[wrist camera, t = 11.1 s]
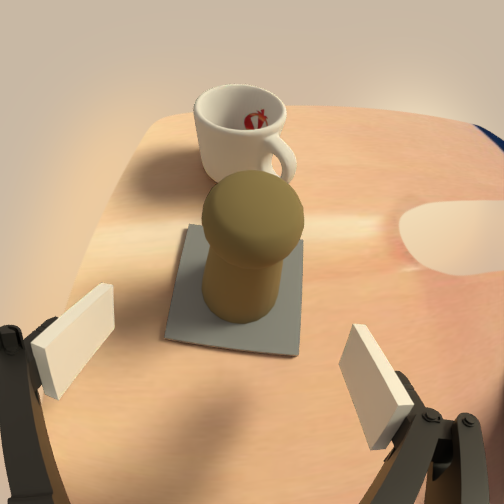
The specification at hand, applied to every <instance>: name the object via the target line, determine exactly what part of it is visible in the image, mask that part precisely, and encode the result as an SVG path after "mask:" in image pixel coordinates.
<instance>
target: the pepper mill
mask: <svg viewBox="0 0 504 504" xmlns="http://www.w3.org/2000/svg"><path fill="white" fill-rule="evenodd" d="M202 226H203V230H204V234H205V238H206V240H207V241H208V243H209V244H210V247H209V252H208V256H207V260H206V265H205V269H204V274H203V279H202V288H201V290H202V294H203V298H204V301H205V303H206V304H207V306H208V308H209V309H210V311H211V312H213V313H214V314H215V315H216V316H218V317H219V318H220V319H223V320H225V321H228V322H230V323H237V324H247V323H251V322H255V321H258V320H259V319H261V318H262V317H264V316H266V315H267V314H268V313H269V312H270V310H271V309H272V308H273V307H274V305H275V302H276V299H277V297H278V292H279V286H280V279H281V272H282V266H283V259H285V258H286V257H287V256H288V255H289V254H290V253H291V252H292V251H293V249H294V248H295V247H296V246H297V244H298V242H299V240H300V237H301V234H302V231H303V228H304V213H303V206H302V204H301V202H300V200H299V198H298V195H297V194H296V192H295V191H294V190H293V188H292V187H291V186H290V185H289V184H288V183H287V182H286V181H284V180H282V179H281V178H279V177H278V176H276V175H273V174H270V173H267V172H264V171H257V170H246V171H239V172H236V173H233V174H231V175H228V176H226V177H225V178H224V179H222V180H221V181H220V182H219V183H217V184H216V185H215V186H214V187H213V188H212V189H211V191H210V192H209V194H208V196H207V198H206V200H205V202H204V205H203V212H202Z"/></svg>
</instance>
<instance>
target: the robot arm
mask: <svg viewBox="0 0 504 504" xmlns="http://www.w3.org/2000/svg"><path fill="white" fill-rule="evenodd" d="M114 329H115V324H114V298H113V285H111V284H106V283H102V282H101V283H100V284H99V285H98V286H96V287H95V288H94V289H93V290H91V291H90V292H89V293H88V294H86V295H85V296H84V297H83V298H82V299H80V300H79V301H78V302H77V303H76V304H74V305H73V306H72V307H71V308H70V309H68V310H67V311H66V312H65V313H64V314H63V315H61V316H60V317H59V318H58V317H53V318H50V319H48V320H46V321H45V322H44V323H43V324H41V326H39V327H38V328H37V329H36V331H33V332H32V333H31V334H30V335H29V336H27V337H26V338H25V339H24V340H23V336H22V332H21V330H20V328H19V327H18V326H15V325H5V326H2V327H0V431H1V440H2V448H3V455H4V461H5V467H6V471H7V476H8V482H9V486H10V490H11V498H8V504H71V503H70V501H69V498H68V496H67V493H66V491H65V488H64V485H63V483H62V480H61V477H60V474H59V471H58V468H57V465H56V462H55V459H54V455H53V452H52V448H51V445H50V441H49V437H48V434H47V429H46V425H45V421H44V416H43V412H42V407H41V402H40V396H39V393H38V388H39V387H40V386H41V385H42V387H43V390H44V393H45V395H48V396H50V397H52V398H54V399H57V400H59V399H60V398H61V396H62V395H63V394H64V392H65V391H66V390H67V388H68V387H69V386H70V384H71V383H72V382H73V380H74V379H75V378H76V377H77V375H78V374H79V373H80V371H81V370H82V369H83V367H84V366H85V365H86V364H87V362H88V361H89V360H90V358H91V357H92V356H93V355H94V353H95V352H96V351H97V350H98V348H99V347H100V346H101V345H102V343H103V342H104V341H105V340H106V338H107V337H108V336H109V335H110V333H111V332H112V331H113V330H114ZM339 366H340V369H341V371H342V374H343V377H344V379H345V382H346V385H347V387H348V390H349V393H350V395H351V398H352V401H353V403H354V406H355V409H356V412H357V414H358V417H359V420H360V423H361V426H362V428H363V431H364V434H365V437H366V440H367V442H368V445H369V448H370V450H380V449H386V447H387V446H388V445H389V443H390V442H391V440H392V442H393V444H394V448H393V449H392V450H391V452H390V453H389V454H388V456H387V457H386V458H385V460H384V462H385V463H384V464H383V466H382V468H381V470H380V471H379V473H378V475H377V476H376V478H375V480H374V481H373V483H372V484H371V486H370V488H369V489H368V491H367V492H366V494H365V495H364V497H363V498H362V500H361V501H360V503H359V504H414V502H415V500H416V498H417V495H418V493H419V491H420V488H421V486H422V483H423V481H424V478H425V476H426V473H427V482H426V492H425V501H424V504H490V502H489V485H488V474H487V465H486V457H485V450H484V443H483V437H482V432H481V426H480V423H479V420H478V419H477V418H476V417H475V416H473V415H472V414H469V413H461V414H459V415H458V417H457V418H456V419H455V421H452V420H444V419H443V418H442V416H441V414H440V413H439V412H438V411H436V410H434V409H432V408H428V407H427V408H426V407H425V406H424V404H423V402H422V401H421V399H420V398H419V396H418V394H417V393H416V391H414V388H413V386H412V385H411V383H410V382H409V380H408V378H407V377H406V376H405V375H404V374H402V373H401V372H400V371H394V370H393V368H392V366H391V365H390V363H389V361H388V360H387V358H386V357H385V355H384V353H383V352H382V350H381V349H380V347H379V345H378V344H377V342H376V341H375V339H374V338H373V336H372V334H371V333H370V331H369V330H368V328H367V327H366V325H362V324H353V325H352V328H351V331H350V334H349V337H348V340H347V343H346V345H345V348H344V351H343V354H342V357H341V359H340V362H339Z"/></svg>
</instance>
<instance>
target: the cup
mask: <svg viewBox="0 0 504 504" xmlns="http://www.w3.org/2000/svg"><path fill="white" fill-rule="evenodd" d="M193 111H194V118H195V125H196V131H197V137H198V143H199V149H200V155H201V160H202V164H203V167H204V169H205V171H206V173H207V174H208V175H209V176H210V178H212V179H213V180H214V181H216V182H217V183H219V182H220V181H221V180H222V179H224V178H225V177H226V176H228V175H231V174H233V173H236V172H239V171H246V170H257V171H264V172H267V173H270V174H273V175H276V176H278V175H277V174H276V173H275V171H274V170H273V167H272V156H273V154H274V155H275V156H276V157H277V158H278V159H279V161H280V163H281V165H282V175H281V177H280V176H278V177H279V178H281V179H282V180H284V181H286V182H287V183H290V181H291V180H292V179H293V177H294V175H295V172H296V167H297V163H296V157H295V155H294V153H293V151H292V150H291V148H290V147H289V146H288V145H287V144H286V143H285V142H284V141H283V140H282V139H281V138H280V134H281V131H282V129H283V126H284V123H285V120H286V116H287V112H286V108H285V105H284V104H283V102H282V101H281V100H280V99H279V98H278V97H277V96H276V95H274V94H273V93H271V92H269V91H267V90H265V89H262V88H259V87H256V86H252V85H245V84H228V85H222V86H217V87H214V88H211V89H209V90H207V91H205V92H204V93H203V94H201V95H200V96H199V97H198V98H197V100H196V102H195V104H194V109H193Z"/></svg>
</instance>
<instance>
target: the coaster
mask: <svg viewBox="0 0 504 504" xmlns="http://www.w3.org/2000/svg"><path fill="white" fill-rule="evenodd" d="M209 247H210V244H209V243H208V241H207V240H206V238H205V234H204V230H203V226H201V225H194V224H189V227H188V231H187V235H186V239H185V243H184V247H183V251H182V255H181V260H180V264H179V268H178V273H177V277H176V282H175V286H174V291H173V296H172V300H171V305H170V310H169V315H168V320H167V325H166V331H165V336H164V338H165V339H168V340H173V341H179V342H184V343H190V344H196V345H203V346H209V347H216V348H223V349H231V350H238V351H246V352H255V353H264V354H274V355H285V356H298V355H299V343H300V325H301V304H302V276H303V240H299V242H298V244H297V246H296V247H295V248H294V249H293V251H292V252H291V253H290V254H289V255H288V256H287V257H286V258H285V259H283V266H282V272H281V279H280V286H279V292H278V297H277V299H276V302H275V305H274V307H273V308H272V309H271V310H270V312H269V313H268V314H267V315H266V316H264V317H262V318H261V319H259V320H258V321H255V322H251V323H247V324H237V323H230V322H228V321H225V320H223V319H220V318H219V317H218V316H216V315H215V314H214V313H213V312H211V311H210V309H209V308H208V306H207V304H206V303H205V301H204V298H203V294H202V290H201V288H202V279H203V274H204V269H205V265H206V260H207V256H208V252H209Z"/></svg>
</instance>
